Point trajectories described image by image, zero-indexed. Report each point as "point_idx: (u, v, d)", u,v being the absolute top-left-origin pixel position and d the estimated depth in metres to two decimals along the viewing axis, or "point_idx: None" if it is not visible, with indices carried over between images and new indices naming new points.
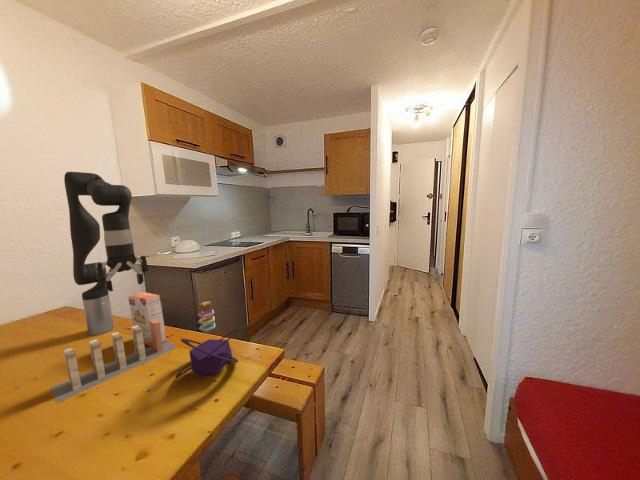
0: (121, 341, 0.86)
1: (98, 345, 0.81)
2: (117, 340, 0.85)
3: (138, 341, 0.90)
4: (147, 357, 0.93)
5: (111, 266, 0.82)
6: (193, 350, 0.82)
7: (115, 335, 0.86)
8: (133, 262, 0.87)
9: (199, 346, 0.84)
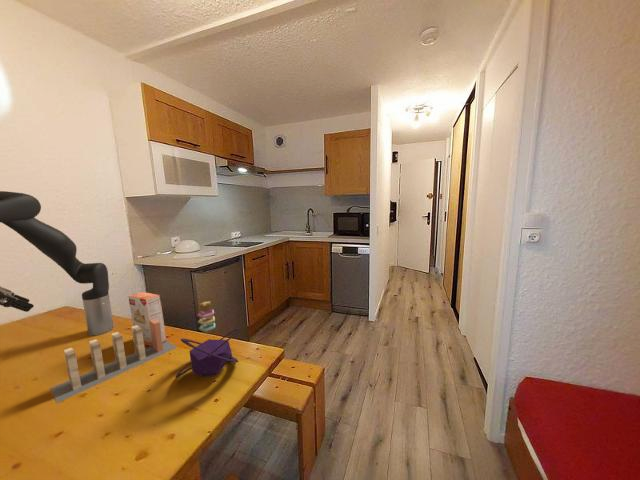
0: (121, 341, 0.86)
1: (98, 345, 0.81)
2: (117, 340, 0.85)
3: (138, 341, 0.90)
4: (147, 357, 0.93)
5: None
6: (193, 350, 0.82)
7: (115, 335, 0.86)
8: None
9: (199, 346, 0.84)
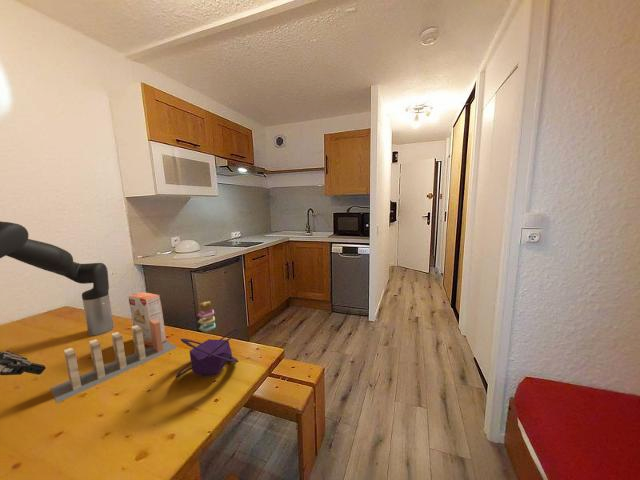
0: (121, 341, 0.86)
1: (98, 345, 0.81)
2: (117, 340, 0.85)
3: (138, 341, 0.90)
4: (147, 357, 0.93)
5: None
6: (193, 350, 0.82)
7: (115, 335, 0.86)
8: None
9: (199, 346, 0.84)
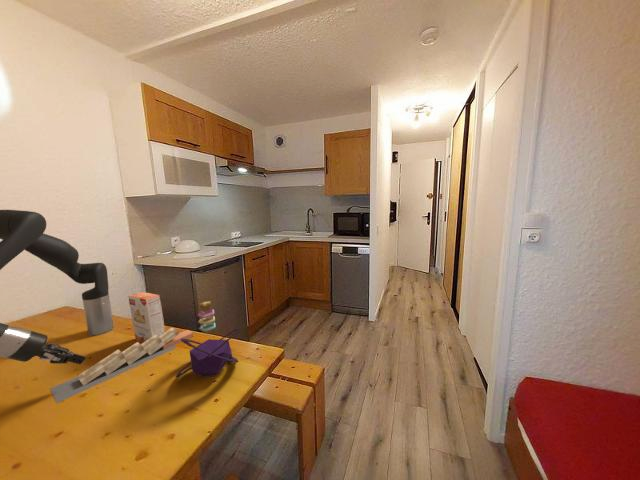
0: (156, 344, 0.95)
1: (142, 349, 0.91)
2: (157, 340, 0.96)
3: (167, 338, 0.98)
4: (147, 357, 0.93)
5: None
6: (193, 350, 0.82)
7: (158, 337, 0.98)
8: None
9: (199, 346, 0.84)
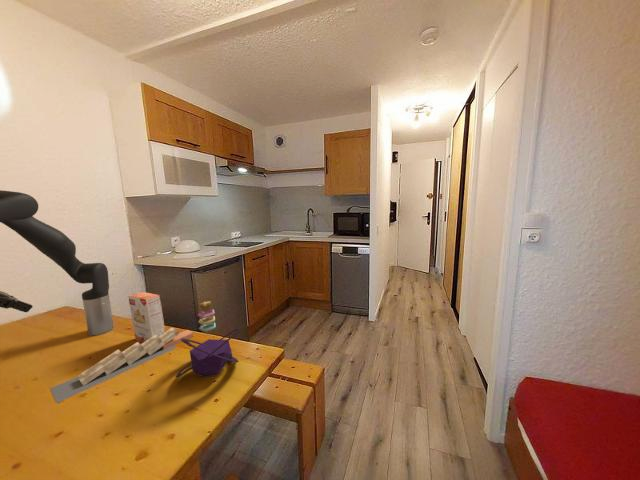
0: (156, 344, 0.95)
1: (142, 349, 0.91)
2: (157, 340, 0.96)
3: (167, 338, 0.98)
4: (147, 357, 0.93)
5: None
6: (193, 350, 0.82)
7: (158, 337, 0.98)
8: None
9: (199, 346, 0.84)
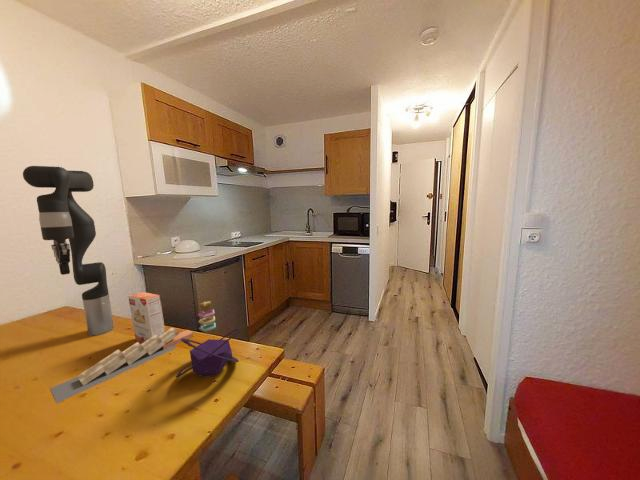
0: (156, 344, 0.95)
1: (142, 349, 0.91)
2: (157, 340, 0.96)
3: (167, 338, 0.98)
4: (147, 357, 0.93)
5: None
6: (193, 350, 0.82)
7: (158, 337, 0.98)
8: (57, 250, 0.83)
9: (199, 346, 0.84)
